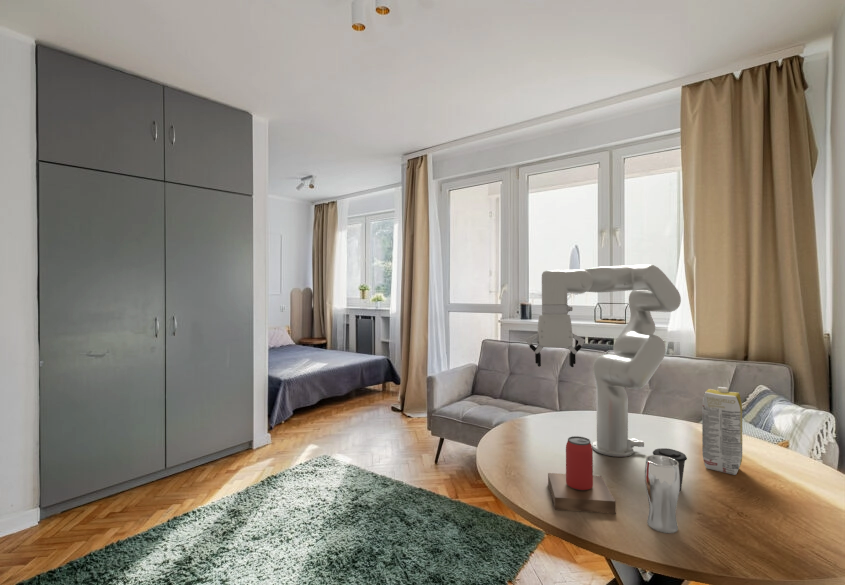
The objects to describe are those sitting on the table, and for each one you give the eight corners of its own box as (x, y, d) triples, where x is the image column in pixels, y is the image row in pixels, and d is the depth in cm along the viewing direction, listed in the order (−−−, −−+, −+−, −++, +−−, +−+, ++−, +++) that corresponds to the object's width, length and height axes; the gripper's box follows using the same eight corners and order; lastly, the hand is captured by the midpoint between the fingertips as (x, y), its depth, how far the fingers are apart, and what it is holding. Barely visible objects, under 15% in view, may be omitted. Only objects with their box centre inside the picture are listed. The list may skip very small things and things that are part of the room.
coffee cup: (675, 497, 111) (675, 459, 111) (646, 485, 118) (645, 448, 118) (693, 490, 114) (693, 453, 114) (664, 478, 122) (664, 443, 121)
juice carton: (743, 468, 127) (743, 388, 127) (739, 477, 122) (739, 393, 121) (706, 460, 134) (705, 383, 133) (700, 468, 128) (700, 388, 128)
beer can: (595, 492, 108) (594, 445, 107) (567, 490, 109) (567, 443, 109) (590, 481, 114) (590, 436, 114) (564, 479, 115) (564, 434, 115)
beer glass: (638, 518, 101) (638, 455, 101) (666, 516, 102) (666, 453, 101) (657, 535, 94) (657, 467, 94) (687, 533, 95) (687, 466, 95)
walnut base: (601, 486, 117) (601, 475, 117) (615, 513, 103) (615, 501, 103) (548, 483, 119) (548, 472, 119) (555, 509, 106) (555, 497, 106)
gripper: (581, 309, 134) (582, 364, 134) (524, 309, 137) (525, 363, 137) (586, 311, 127) (587, 368, 127) (526, 311, 130) (527, 368, 130)
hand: (555, 366), depth 132 cm, fingers open, 9 cm apart
